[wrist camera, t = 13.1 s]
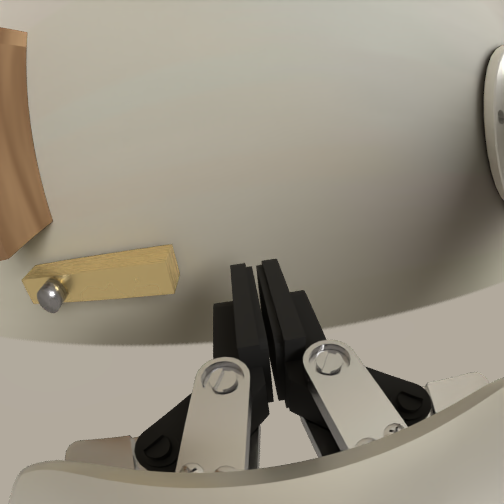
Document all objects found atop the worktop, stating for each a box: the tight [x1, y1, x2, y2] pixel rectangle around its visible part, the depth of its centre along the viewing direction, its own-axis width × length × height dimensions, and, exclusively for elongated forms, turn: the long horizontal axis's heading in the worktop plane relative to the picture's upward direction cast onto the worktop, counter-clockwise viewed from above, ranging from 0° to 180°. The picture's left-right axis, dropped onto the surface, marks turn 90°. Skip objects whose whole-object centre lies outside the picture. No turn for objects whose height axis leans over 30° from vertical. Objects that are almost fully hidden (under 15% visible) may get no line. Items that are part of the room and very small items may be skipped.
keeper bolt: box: [22, 244, 180, 313], centre depth 11 cm, size 9×2×3 cm, turn 96°
